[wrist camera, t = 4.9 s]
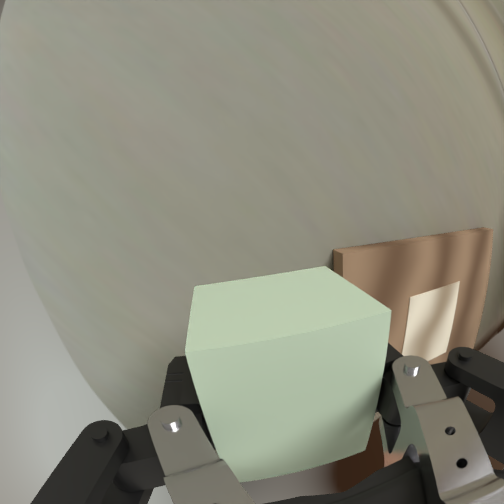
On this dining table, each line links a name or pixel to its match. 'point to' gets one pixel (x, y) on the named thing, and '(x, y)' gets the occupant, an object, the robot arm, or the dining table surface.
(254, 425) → the sage green brick
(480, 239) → the base board
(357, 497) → the robot arm
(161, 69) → the dining table surface
